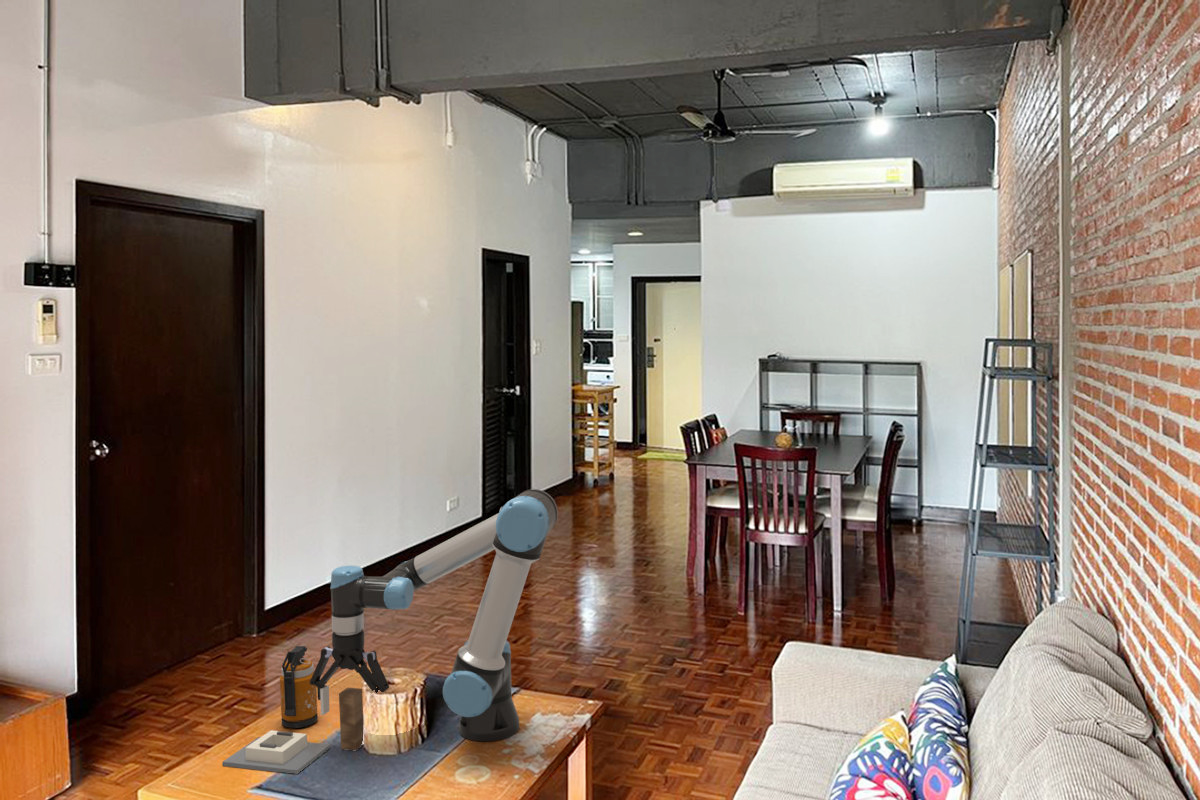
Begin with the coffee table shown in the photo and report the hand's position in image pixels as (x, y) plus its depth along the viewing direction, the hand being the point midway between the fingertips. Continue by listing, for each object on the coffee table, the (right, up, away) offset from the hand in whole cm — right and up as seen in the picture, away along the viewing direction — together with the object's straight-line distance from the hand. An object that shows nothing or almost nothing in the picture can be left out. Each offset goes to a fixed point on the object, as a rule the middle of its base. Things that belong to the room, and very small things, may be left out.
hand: (349, 716), depth 229 cm
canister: (-17, -7, +15) cm, 24 cm away
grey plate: (-16, -8, -4) cm, 19 cm away
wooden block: (+1, -8, 0) cm, 8 cm away
